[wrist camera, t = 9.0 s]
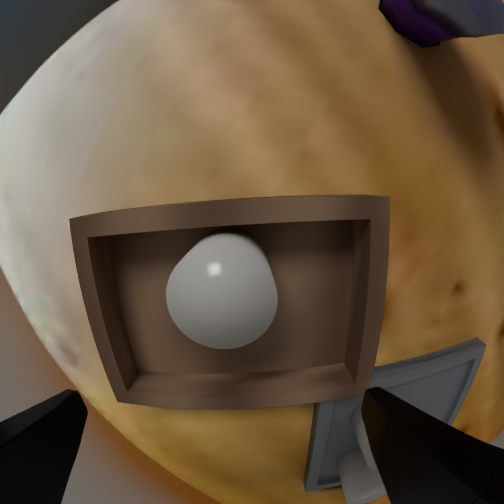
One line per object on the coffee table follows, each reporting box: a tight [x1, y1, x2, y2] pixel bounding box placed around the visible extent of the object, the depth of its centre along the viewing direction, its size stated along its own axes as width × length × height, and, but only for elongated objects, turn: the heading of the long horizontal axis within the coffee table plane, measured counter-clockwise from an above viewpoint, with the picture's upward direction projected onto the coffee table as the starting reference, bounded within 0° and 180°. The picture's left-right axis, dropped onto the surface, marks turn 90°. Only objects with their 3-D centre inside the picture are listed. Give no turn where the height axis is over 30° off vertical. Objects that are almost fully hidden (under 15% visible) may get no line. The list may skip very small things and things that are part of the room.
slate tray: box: [303, 338, 486, 492], centre depth 18 cm, size 15×15×1 cm
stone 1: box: [166, 228, 278, 349], centre depth 12 cm, size 4×4×4 cm
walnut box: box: [69, 195, 390, 409], centre depth 14 cm, size 15×11×3 cm
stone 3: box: [336, 449, 387, 504], centre depth 16 cm, size 4×4×4 cm
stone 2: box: [350, 394, 394, 470], centre depth 15 cm, size 4×4×4 cm
